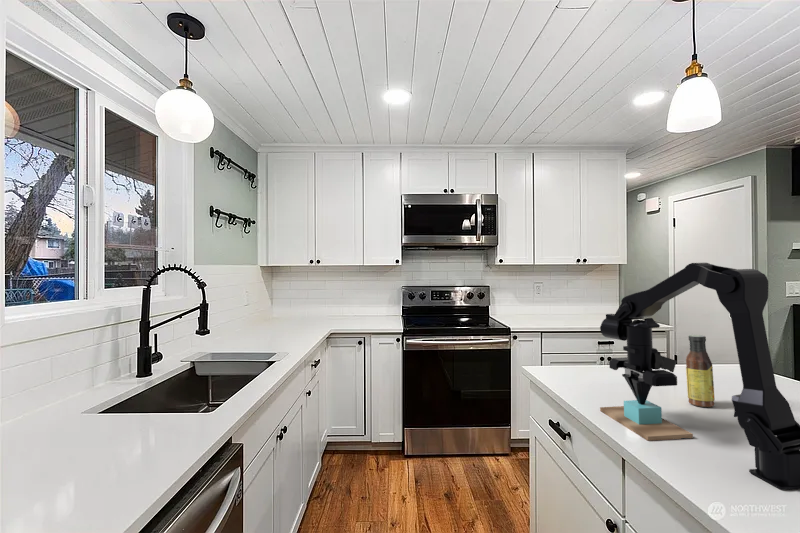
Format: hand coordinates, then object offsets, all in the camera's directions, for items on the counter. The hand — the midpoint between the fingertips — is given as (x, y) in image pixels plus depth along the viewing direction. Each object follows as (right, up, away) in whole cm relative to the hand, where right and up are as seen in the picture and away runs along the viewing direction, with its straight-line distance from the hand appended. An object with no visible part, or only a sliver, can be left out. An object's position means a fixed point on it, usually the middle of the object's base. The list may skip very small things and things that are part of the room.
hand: (641, 404), depth 103 cm
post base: (0, -5, 0) cm, 5 cm away
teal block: (0, -4, 0) cm, 4 cm away
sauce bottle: (+25, -5, +12) cm, 28 cm away
